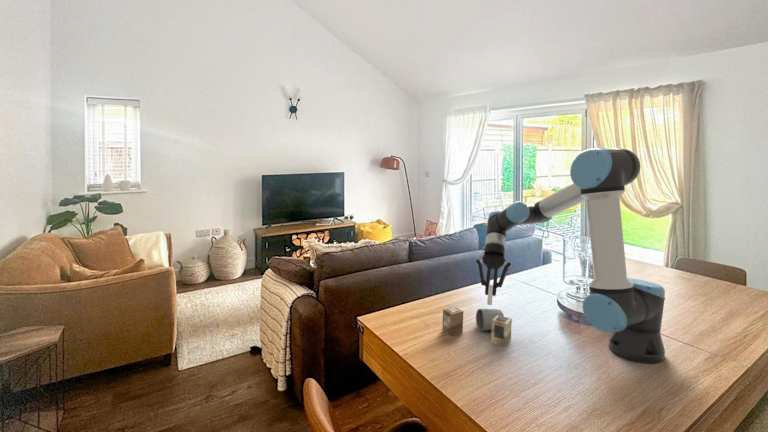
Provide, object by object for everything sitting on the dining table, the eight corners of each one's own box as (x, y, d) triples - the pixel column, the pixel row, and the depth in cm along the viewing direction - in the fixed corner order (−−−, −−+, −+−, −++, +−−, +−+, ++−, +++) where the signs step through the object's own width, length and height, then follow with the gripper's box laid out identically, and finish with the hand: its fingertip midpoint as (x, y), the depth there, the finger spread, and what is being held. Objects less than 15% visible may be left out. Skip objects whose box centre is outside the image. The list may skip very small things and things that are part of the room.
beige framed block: (510, 340, 134) (511, 317, 132) (505, 347, 129) (507, 323, 128) (496, 337, 136) (497, 314, 135) (490, 343, 132) (491, 319, 131)
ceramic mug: (505, 332, 140) (506, 311, 139) (483, 334, 138) (484, 313, 137) (491, 320, 150) (492, 301, 149) (471, 322, 149) (472, 302, 147)
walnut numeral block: (462, 332, 140) (463, 310, 138) (451, 336, 137) (451, 313, 136) (453, 327, 144) (453, 306, 143) (441, 330, 141) (442, 308, 140)
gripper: (512, 253, 155) (508, 309, 142) (478, 250, 159) (471, 305, 147) (512, 243, 149) (508, 301, 137) (477, 240, 154) (470, 296, 141)
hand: (489, 303), depth 142 cm, fingers closed
